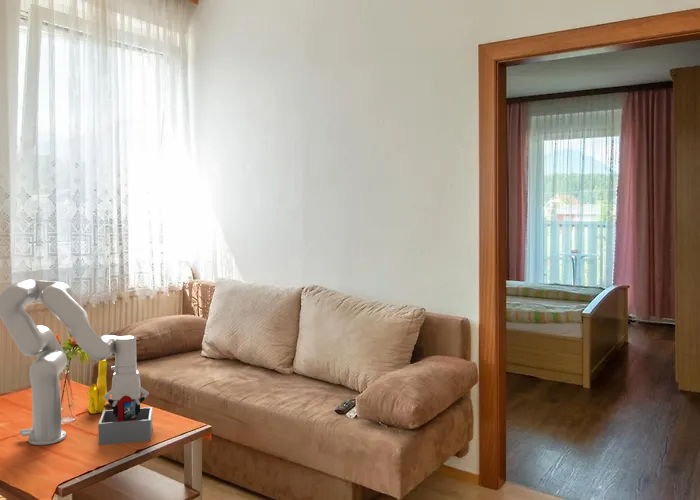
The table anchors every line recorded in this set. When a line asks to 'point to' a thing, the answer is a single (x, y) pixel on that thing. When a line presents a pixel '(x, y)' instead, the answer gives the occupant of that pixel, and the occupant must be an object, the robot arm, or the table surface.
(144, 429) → the gray open storage box
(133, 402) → the beverage can
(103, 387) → the figure statuette
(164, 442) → the table surface
